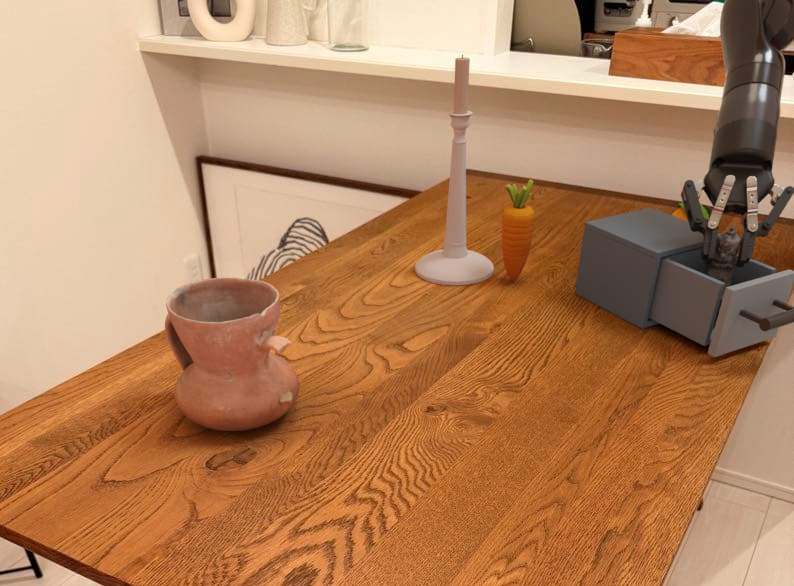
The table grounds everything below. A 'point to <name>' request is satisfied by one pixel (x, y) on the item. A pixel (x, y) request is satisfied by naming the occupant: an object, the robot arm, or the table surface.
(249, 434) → the table surface
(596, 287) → the cabinet
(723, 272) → the salt shaker
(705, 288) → the drawer
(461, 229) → the candlestick
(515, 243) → the carrot
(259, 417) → the ceramic jug
